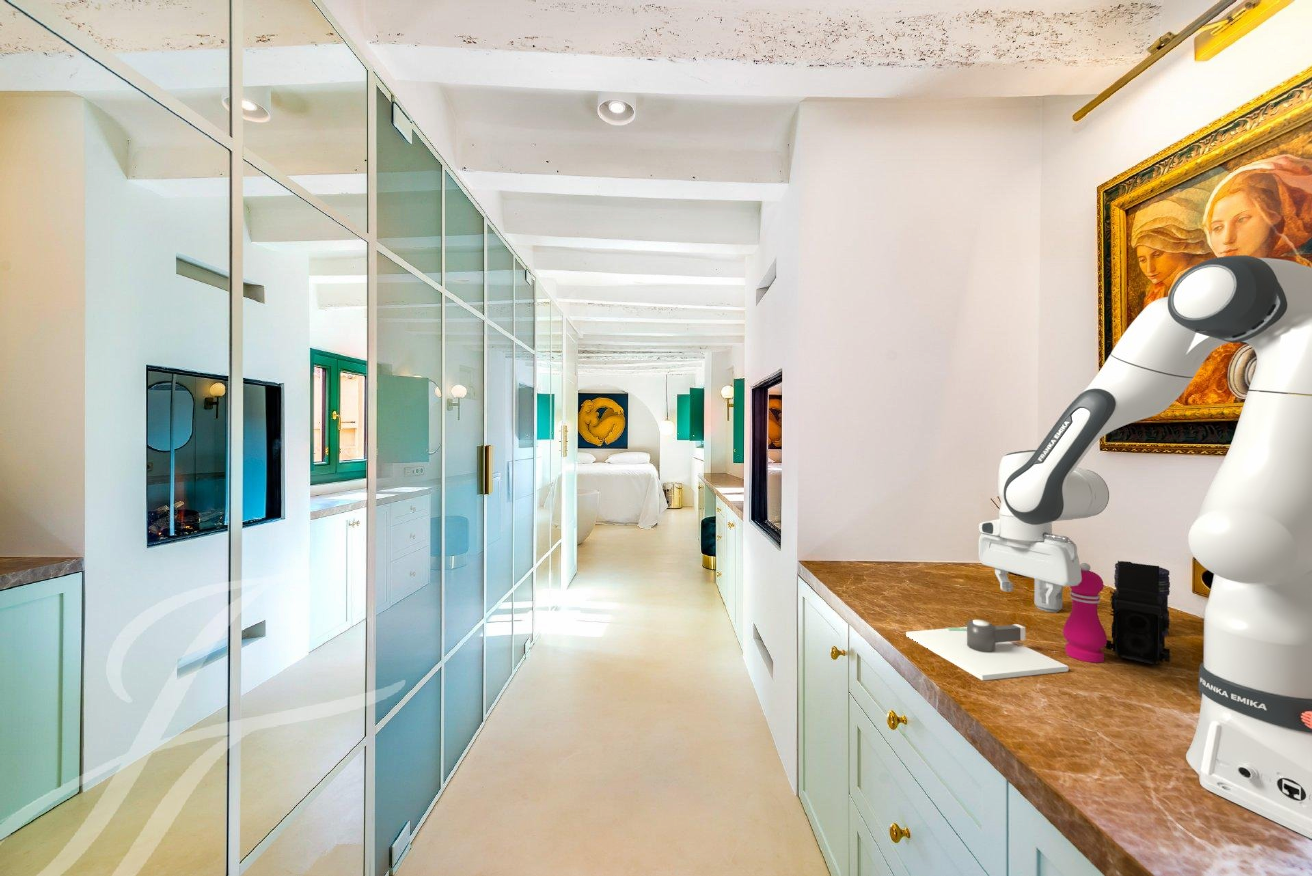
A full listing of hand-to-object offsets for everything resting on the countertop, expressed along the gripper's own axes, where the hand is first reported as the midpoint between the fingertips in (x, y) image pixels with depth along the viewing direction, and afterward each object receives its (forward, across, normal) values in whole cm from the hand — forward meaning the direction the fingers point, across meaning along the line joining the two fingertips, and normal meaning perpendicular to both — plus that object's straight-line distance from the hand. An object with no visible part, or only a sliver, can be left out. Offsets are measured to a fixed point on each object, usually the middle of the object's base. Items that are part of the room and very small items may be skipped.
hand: (1026, 597), depth 105 cm
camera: (+15, -2, -26) cm, 30 cm away
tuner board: (+14, +8, +4) cm, 16 cm away
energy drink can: (+14, +27, -36) cm, 47 cm away
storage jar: (+14, +11, -45) cm, 49 cm away
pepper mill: (+14, +2, -16) cm, 22 cm away
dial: (+13, +8, 0) cm, 15 cm away
